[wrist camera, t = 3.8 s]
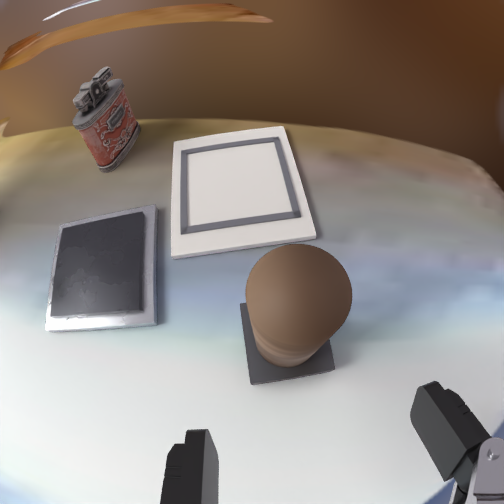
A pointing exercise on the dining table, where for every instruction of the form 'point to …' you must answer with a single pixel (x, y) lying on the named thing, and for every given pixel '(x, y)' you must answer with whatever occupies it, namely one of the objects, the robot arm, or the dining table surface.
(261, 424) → the dining table surface
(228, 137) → the marked board
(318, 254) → the stamp
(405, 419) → the dining table surface
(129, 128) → the lighter
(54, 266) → the ink pad
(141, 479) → the dining table surface
